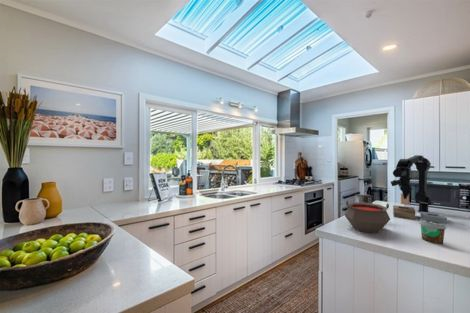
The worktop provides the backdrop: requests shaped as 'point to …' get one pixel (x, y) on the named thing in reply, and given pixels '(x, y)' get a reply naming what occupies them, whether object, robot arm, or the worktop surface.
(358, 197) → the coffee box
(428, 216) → the frame
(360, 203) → the faceted brown planter
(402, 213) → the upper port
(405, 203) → the plug
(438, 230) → the food container
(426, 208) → the robot arm
